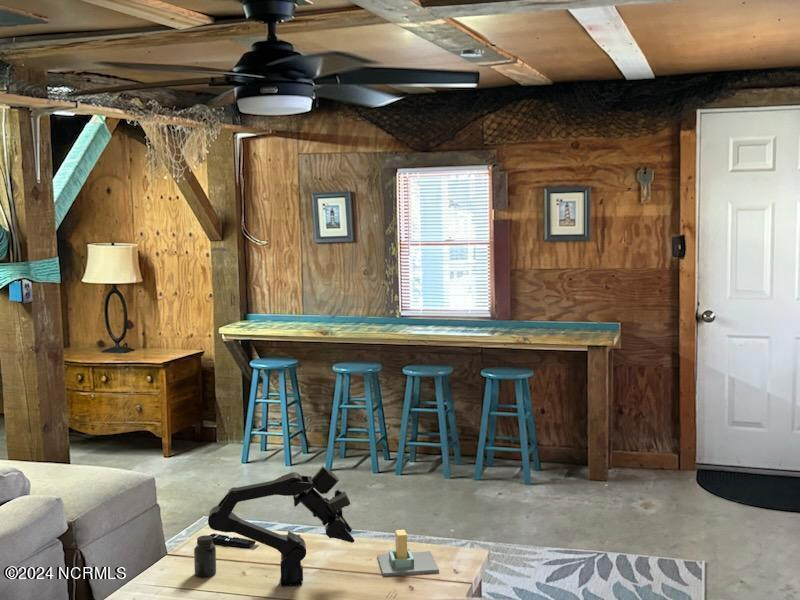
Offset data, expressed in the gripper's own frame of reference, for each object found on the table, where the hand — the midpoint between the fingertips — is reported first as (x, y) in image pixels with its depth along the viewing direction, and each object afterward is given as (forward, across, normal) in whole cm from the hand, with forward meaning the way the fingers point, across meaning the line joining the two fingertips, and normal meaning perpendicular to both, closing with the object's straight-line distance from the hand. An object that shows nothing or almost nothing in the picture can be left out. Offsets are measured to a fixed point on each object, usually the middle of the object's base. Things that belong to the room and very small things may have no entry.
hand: (352, 536), depth 281 cm
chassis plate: (+23, +8, -4) cm, 24 cm away
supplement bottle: (-23, +11, +43) cm, 50 cm away
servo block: (+21, +8, -3) cm, 22 cm away
